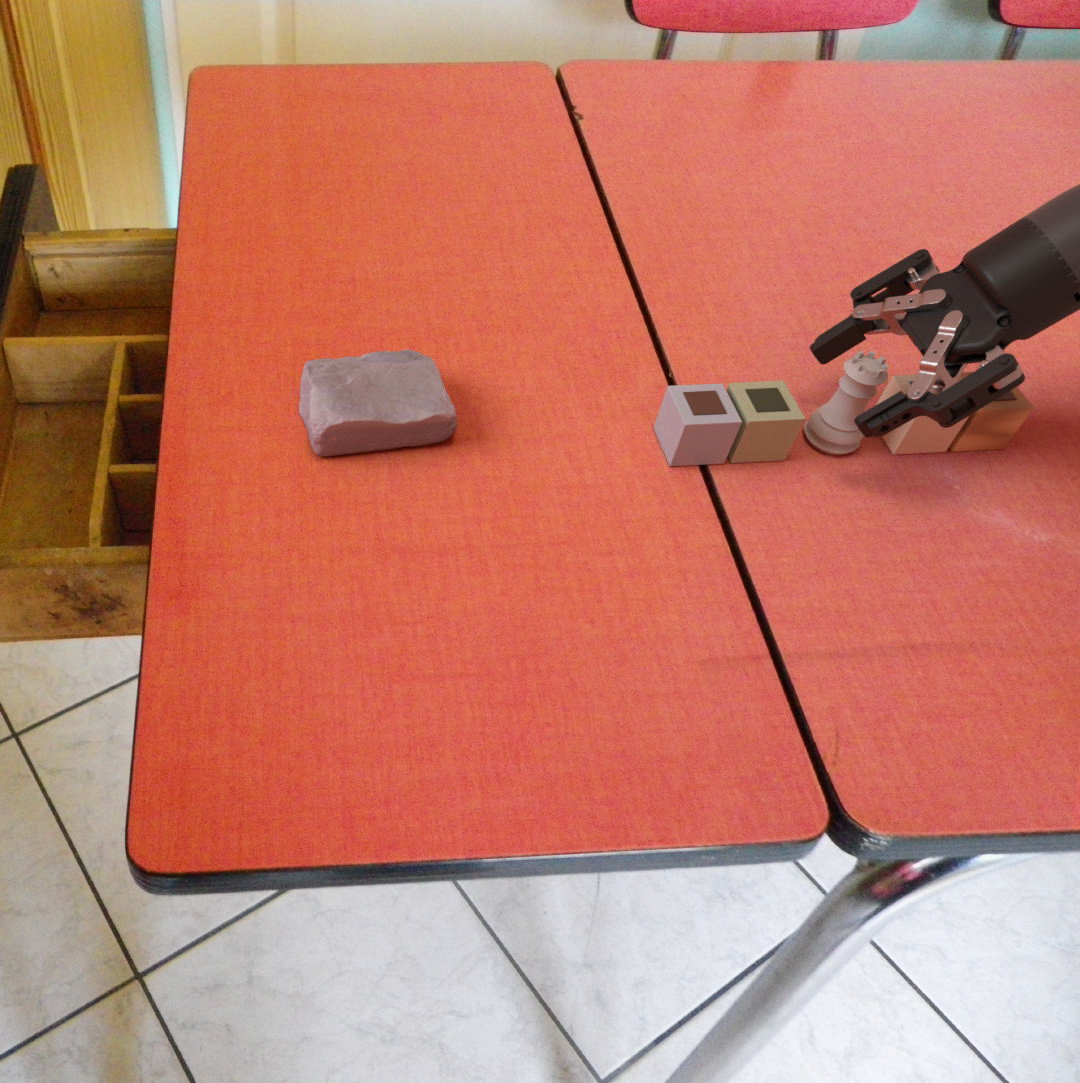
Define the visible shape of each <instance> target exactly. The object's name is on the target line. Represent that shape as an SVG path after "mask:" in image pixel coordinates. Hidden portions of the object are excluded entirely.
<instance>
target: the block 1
mask: <svg viewBox="0 0 1080 1083" xmlns="http://www.w3.org/2000/svg"><path fill="white" fill-rule="evenodd" d="M726 390H727V388H726V387H725V385H724V384H723V383H722V382H720V383H719V382H718V383H700V384H698V383H697V384H680V385H679V384H678V385H677V384H676V385H667V387H666V389H665V392H664V396H663V398H662V401H661V404H660V407H659V410H658V413H657V416H656V419H655V422H654V424H653V430H654V433H655V436H656V437H657V440H658V442H659V444H660V447H661V449H662V451H663V454H664V457H665V458H666V461H667V464H668V466H669V467H685V466H686V467H687V466H705V465H722V464H725V463H726V461H727V458H728V454H729V451H730V449H731V447H732V445H733V442H734V440H735V438H736V435H737V433H738V431H739V428H740V426H741V424H742V420H741V418H740V416H739V414H738V413H737V411H736V409H735V407H734V405H733V403H732V401H731V399H730V397H729V395H728V393H727V391H726Z"/></svg>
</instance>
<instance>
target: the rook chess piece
mask: <svg viewBox="0 0 1080 1083" xmlns="http://www.w3.org/2000/svg"><path fill="white" fill-rule="evenodd" d="M865 353H866V352H865V351H864V350H860V351H857V352H856V354H853V357H851V358H848V359H846V360H845V362H844V363H843V371H844V373H845V375H842V376H841V377H840V378H839V380H838V385H839V386H838V388H837V389H836V391H835V392H834V393H833V395H832V397H830V399H829V400H828V402H824V404H822V405H820V406H819V407H817V408H816V409H815V410H813V412H812V413H810V415H809V419H808V420H806V422H804V427H803V432H804V434H805V436H806V439H807V441H808V442H809V443H810V445H812V447H813V448H815V449H817V450H819V451H820V452H822V453H825V454H829V455H832V456H833V455H834V456H835V455H836V456H842V455H846V454H849V453H852V452H855V451H856V450H857V449H858V448H859V447H860V446H861V441H862V440H863V439H864V438H865V436H864V435H863V434H862V433H861V431H860V430H859V429H858V427H857V425H856V424H855V422H854V420H855V418H856V417H857V416H859V415H860V414H862V413H864V412H865V411H867V407H868V404H869V402H870V400H871V399H872V398H873V397H875V396H876V395H877V393H878V392H877V390H878V388H877V387H878V386H881V385H884V384H885V383H886V382H887V381H888V380H889V372H888V369H889V365H890V364H889V363H886V362H887V358H885V357H884V356H883V355H881V356H879V358H878V359H877V358H876V357H875V356H876V355H877V354H876V353H877V352H876V351H873V350H868V353H867V354H866V355H865Z"/></svg>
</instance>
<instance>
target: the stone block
mask: <svg viewBox="0 0 1080 1083" xmlns="http://www.w3.org/2000/svg"><path fill="white" fill-rule="evenodd" d="M298 413H299V416H300V417H301V419H302V421H303V423H304V425H305V427H306V429H307V432H308V433H307V434H308V439H309V443H310V445H311V450H313V452H314V453H315V454H316V455H317V456H320V457H333V456H343V455H352V454H360V453H369V452H373V451H387V450H394V449H398V448H405V447H418V446H419V447H420V446H421V447H422V446H429V445H433V444H437V443H441V442H444V441H446V440H449V438H450V437H451V436H452V435H453V434H455V432H456V430H457V428H458V416H457V411H456V408H455V405H454V404H453V402H452V400H451V397H450V394H449V393H448V392H447V390H446V387H445V384H444V381H443V379H442V376H441V372H440V370H439V368H438V366H437V363H436V361H435V360H434V359H433V358H432V357H431V356H429V355H424V354H423V353H422V352H420V351H416V350H412V349H408V348H407V349H401V350H398V351H391V350H380V351H372V352H367V353H365V354H362V355H361V356H343V357H339V358H329V357H327V358H316V359H310V360H306V362H305V363H304V365H303V368H302V373H301V376H300V385H299V402H298Z"/></svg>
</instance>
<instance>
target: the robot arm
mask: <svg viewBox="0 0 1080 1083" xmlns="http://www.w3.org/2000/svg"><path fill="white" fill-rule="evenodd" d="M883 289H884V290H883ZM916 290H918V291H919V292H918V293H913V294H911V293H912V292H914V291H916ZM878 292H879V293H878ZM849 294H850V298H851V299H852V307H853V309H852V311H851V314H849V315H848V316H847V317H846V318H844V319H843V320H840V322H838V323H836V324H835V325H833V326H832V327H831V328H829V329H826V330H825V331H824V332H822V333H820V334H819V335H818V336H817V337H816V338H815V339H814V342H812V343H811V344H810V346H809V351H810V352H811V353H812V355H813V357H814V358H815V359H816V361H817V362H818V363H819V364H820V365H826V364H827V365H828V364H829V363H830V362H832V361H833V360H835V359H837V358H838V357H840V356H842V355H844V354H845V353H846V352H848V351H850V350H851V349H853V348H855V347H856V346H858V345H859V344H861V343H863V342H864V341H866V340H867V337H866V336H865V335H867V336H871V335H881V334H894V335H896V336H907V337H908V338H909V339H910V341H911V343H912V344H913V345H914V346H915V347H916V348H917V350H918V351H919V353H920V354H921V356H922V358H921V359H920V362H919V371H918V373H917V376H916V378H915V379H914V381H913V383H912V384H911V386H910V388H909V389H908V391H907V394H905V395H904V394H903V392H902V391H900V392H898V393H896V394H895V395H893V396H891V397H889V398H888V399H886V400H884V401H883V402H881V403H879V404H877V403H876V404H877V405H876V404H875V405H874V406H872V407H871V408H869V409H866V410H865V412H864V413H862V414H860V415H859V416H857V417H856V418H855V420H854V422H855V424H856V425H857V427H858V429H859V430H860V431H861V433H862V434H863V435H864V438H866V439H870V438H873V437H875V438H879V437H882V436H884V435H886V434H887V433H889V432H891V431H893V430H895V429H896V428H898V427H900V426H902V425H903V424H905V423H907V422H909V421H911V420H912V419H914V418H916V417H918V416H927V417H929V418H931V419H933V420H934V421H936V422H938V424H939V425H940V426H941V427H943V428H949V427H951V426H953V425H955V424H957V423H958V422H960V421H961V420H963V419H965V418H966V417H968V416H970V415H971V414H973V413H975V412H976V411H978V410H979V409H981V408H983V407H984V406H986V405H988V404H989V403H991V402H993V401H994V400H996V399H998V398H999V397H1001V396H1002V395H1004V394H1006V393H1007V392H1009V391H1011V390H1012V389H1014V388H1016V387H1019V386H1020V385H1022V384H1023V383H1024V382H1025V380H1026V375H1025V373H1024V371H1023V368H1022V367H1021V365H1020V363H1019V362H1018V360H1017V359H1016V356H1014V354H1013V353H1007V352H1006V351H1005V350H1006V349H1007V348H1008V347H1009V345H1011V344H1012V343H1014V342H1015V341H1027V340H1029V339H1031V338H1033V337H1034V336H1036V335H1038V334H1040V333H1042V332H1043V331H1045V330H1047V329H1048V328H1050V327H1051V326H1054V325H1055V324H1058V323H1059V322H1060V321H1063V320H1064V319H1066V318H1068V317H1069V316H1072V315H1073V314H1075V313H1076V312H1078V311H1080V183H1079V184H1077V185H1075V186H1073V187H1070V188H1068V189H1067V190H1065V191H1063V192H1061V193H1060V194H1058V195H1056V196H1054V197H1053V198H1051V199H1049V200H1048V201H1046V202H1045V203H1043V204H1042V205H1040V206H1038V207H1036V208H1035V209H1033V210H1032V211H1031V212H1029V213H1027V214H1026V215H1024V216H1022V217H1021V218H1019V219H1018V220H1016V221H1015V222H1013V223H1012V224H1010V225H1008V226H1007V227H1005V228H1003V229H1002V230H1000V231H999V232H997V233H995V234H994V235H992V236H991V237H988V238H987V239H986V240H985V241H982V242H981V243H979V244H978V245H976V246H975V247H973V248H972V249H970V250H968V251H967V252H966V253H964V255H963V257H962V259H961V261H960V263H959V264H957V266H955V267H954V268H952V269H950V270H947V271H943V272H940V269H939V268H938V265H937V264H936V262H935V260H934V258H933V257H932V254H930V251H929V250H928V249H925V248H921V249H918V250H916V251H914V252H913V253H911V254H910V255H908V256H906V257H904V258H903V259H901V260H899V261H897V262H896V263H894V264H893V265H891V266H889V267H887V268H886V269H884V270H882V271H881V272H878V273H877V274H875V275H873V276H872V277H871V278H869V279H867V280H866V281H864V282H862V283H861V284H859V285H857V286H855V287H854V288H853V289H852V290H851V291H850V293H849ZM969 364H979V366H978V367H977V369H976V370H974V371H972V372H973V373H971V374H970V375H968V376H967V377H965V378H963V379H962V380H960V381H959V382H957V381H958V379H959V378H960V376H961V374H962V373H963V372H965V369H966V367H967V366H968V365H969Z"/></svg>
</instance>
